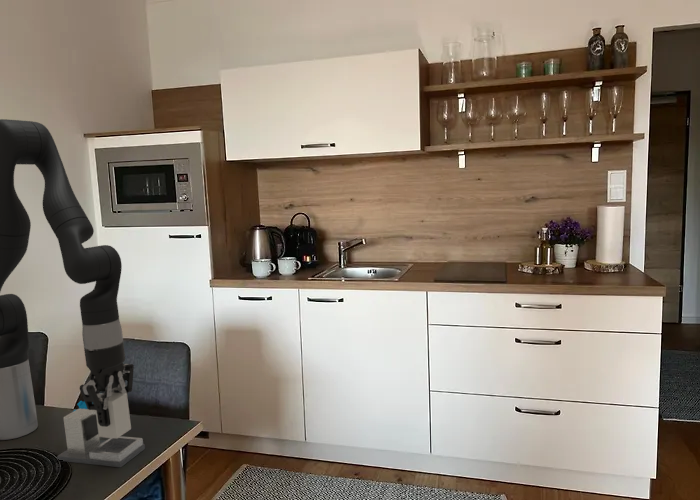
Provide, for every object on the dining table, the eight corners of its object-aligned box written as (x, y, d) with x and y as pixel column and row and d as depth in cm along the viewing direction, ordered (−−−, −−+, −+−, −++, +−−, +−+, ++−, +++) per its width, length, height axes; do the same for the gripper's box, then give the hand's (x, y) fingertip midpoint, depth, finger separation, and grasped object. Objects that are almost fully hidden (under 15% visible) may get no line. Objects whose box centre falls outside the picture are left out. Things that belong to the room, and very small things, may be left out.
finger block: (111, 427, 121) (107, 392, 120) (131, 428, 120) (126, 393, 119) (97, 436, 117) (92, 400, 116) (117, 438, 115) (112, 401, 114)
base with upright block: (57, 460, 119) (52, 420, 117) (85, 442, 126) (80, 404, 125) (120, 467, 114) (115, 425, 113) (145, 448, 122) (140, 409, 120)
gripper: (112, 332, 123) (121, 405, 126) (62, 352, 110) (73, 434, 112) (140, 332, 121) (149, 407, 124) (93, 353, 108) (104, 437, 110)
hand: (113, 420), depth 118 cm, fingers closed on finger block, 4 cm apart
